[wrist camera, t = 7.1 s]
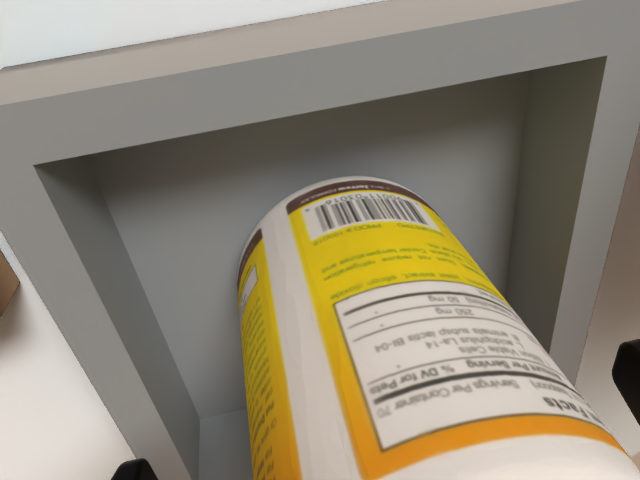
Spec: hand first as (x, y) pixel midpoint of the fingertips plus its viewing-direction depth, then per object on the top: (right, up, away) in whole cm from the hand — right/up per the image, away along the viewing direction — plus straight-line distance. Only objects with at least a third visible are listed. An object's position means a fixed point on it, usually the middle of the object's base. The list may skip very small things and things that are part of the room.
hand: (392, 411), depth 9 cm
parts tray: (-1, +3, +5) cm, 6 cm away
